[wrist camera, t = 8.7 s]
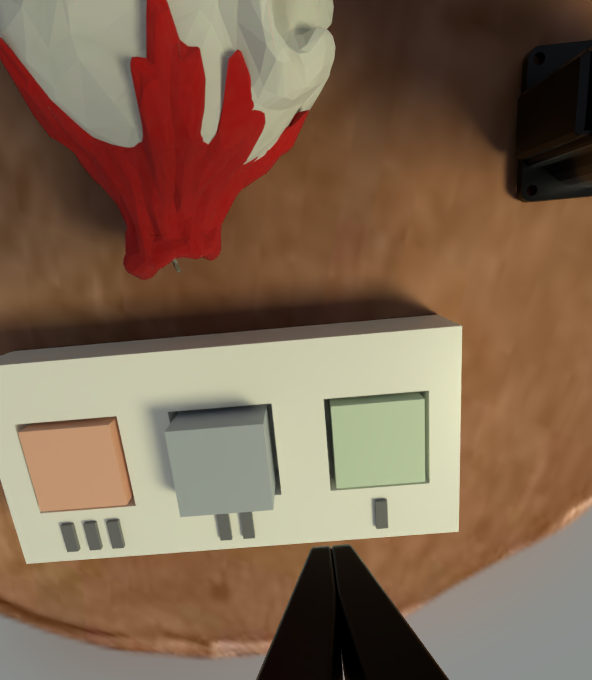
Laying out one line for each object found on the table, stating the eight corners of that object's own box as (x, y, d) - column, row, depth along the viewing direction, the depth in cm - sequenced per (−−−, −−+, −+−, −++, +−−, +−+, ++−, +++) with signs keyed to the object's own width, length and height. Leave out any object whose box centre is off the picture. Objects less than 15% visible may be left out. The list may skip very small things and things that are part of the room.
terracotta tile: (128, 406, 20) (108, 425, 18) (143, 478, 21) (126, 504, 19) (47, 412, 20) (17, 432, 18) (66, 484, 21) (40, 511, 19)
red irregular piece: (341, -89, 15) (307, 273, 21) (63, -119, 15) (101, 256, 20) (394, -432, 7) (315, 324, 12) (-229, -516, 7) (-35, 297, 12)
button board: (437, 314, 20) (463, 326, 17) (437, 494, 23) (460, 534, 19) (12, 351, 20) (-38, 369, 17) (60, 523, 23) (23, 566, 20)
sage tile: (410, 382, 20) (424, 399, 18) (411, 457, 21) (425, 481, 19) (327, 389, 20) (330, 406, 18) (332, 463, 21) (336, 488, 19)
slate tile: (267, 403, 19) (263, 424, 17) (275, 481, 20) (273, 509, 18) (179, 411, 19) (164, 431, 17) (192, 488, 20) (180, 517, 18)
